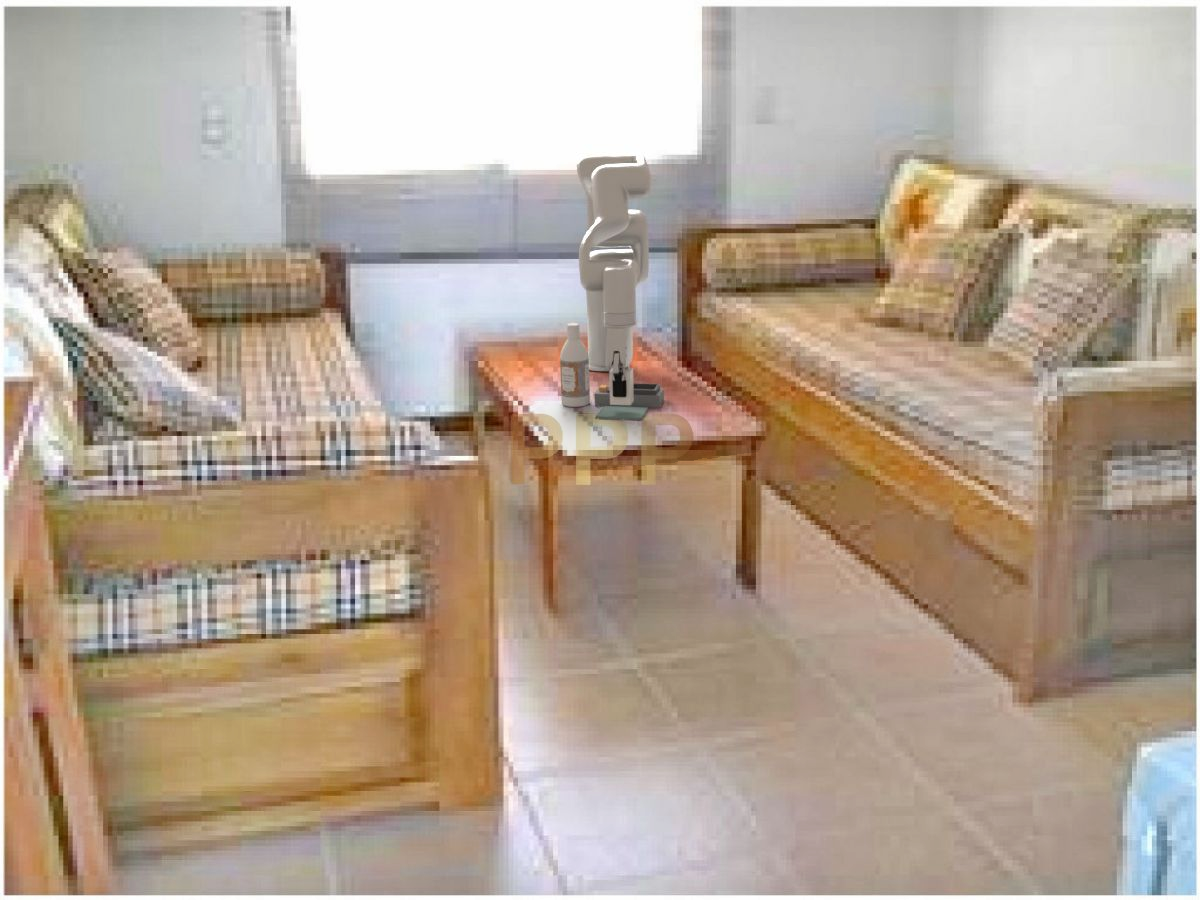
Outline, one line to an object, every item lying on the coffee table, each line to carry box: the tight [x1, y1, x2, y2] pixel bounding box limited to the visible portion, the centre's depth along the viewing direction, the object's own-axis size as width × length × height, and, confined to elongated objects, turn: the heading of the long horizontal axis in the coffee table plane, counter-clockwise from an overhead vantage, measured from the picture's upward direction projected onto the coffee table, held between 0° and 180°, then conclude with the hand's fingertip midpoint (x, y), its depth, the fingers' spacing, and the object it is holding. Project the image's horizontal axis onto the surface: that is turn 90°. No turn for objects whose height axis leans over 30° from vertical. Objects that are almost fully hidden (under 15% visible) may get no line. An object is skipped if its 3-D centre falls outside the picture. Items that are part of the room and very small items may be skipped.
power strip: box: [594, 382, 665, 409], centre depth 339 cm, size 7×16×4 cm, turn 78°
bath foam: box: [559, 322, 591, 408], centre depth 337 cm, size 7×7×20 cm
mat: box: [595, 406, 649, 421], centre depth 330 cm, size 9×11×1 cm
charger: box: [608, 365, 634, 405], centre depth 328 cm, size 4×5×10 cm
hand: (621, 393), depth 328 cm, fingers closed on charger, 4 cm apart
